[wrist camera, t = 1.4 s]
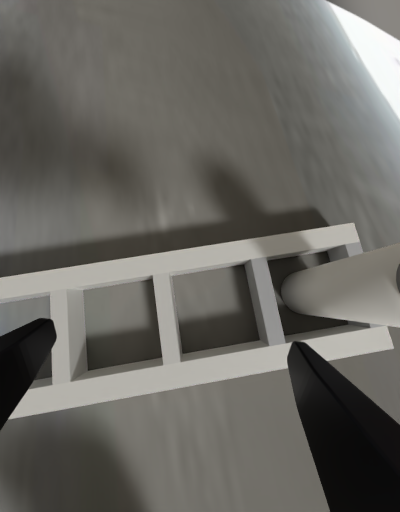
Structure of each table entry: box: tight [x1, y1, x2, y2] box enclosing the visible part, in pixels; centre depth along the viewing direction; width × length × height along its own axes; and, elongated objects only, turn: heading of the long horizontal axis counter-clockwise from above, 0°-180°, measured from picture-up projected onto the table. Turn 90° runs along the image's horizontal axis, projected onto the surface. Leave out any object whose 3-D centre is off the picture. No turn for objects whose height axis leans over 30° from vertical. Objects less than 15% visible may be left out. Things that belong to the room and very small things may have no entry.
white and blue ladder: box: [0, 223, 394, 419], centre depth 20 cm, size 13×49×5 cm, turn 99°
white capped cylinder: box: [281, 243, 400, 327], centre depth 16 cm, size 4×4×14 cm
